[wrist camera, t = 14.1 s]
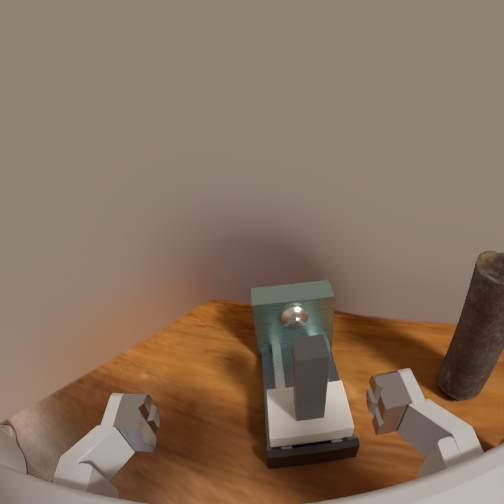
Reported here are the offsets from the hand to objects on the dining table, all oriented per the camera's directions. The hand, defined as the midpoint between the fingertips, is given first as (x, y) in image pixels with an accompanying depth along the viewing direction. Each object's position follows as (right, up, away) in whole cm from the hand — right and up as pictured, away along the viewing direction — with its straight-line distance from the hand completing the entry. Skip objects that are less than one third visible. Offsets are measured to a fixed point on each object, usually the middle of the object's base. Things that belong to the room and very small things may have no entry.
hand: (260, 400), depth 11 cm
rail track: (+6, -13, +30) cm, 33 cm away
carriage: (+6, -14, +23) cm, 27 cm away
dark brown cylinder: (+28, -13, +25) cm, 40 cm away
